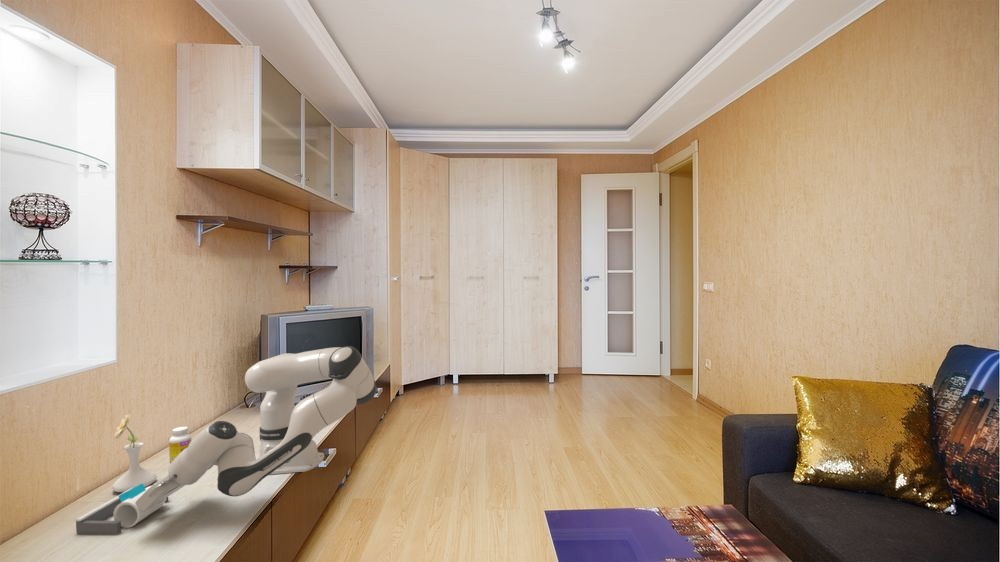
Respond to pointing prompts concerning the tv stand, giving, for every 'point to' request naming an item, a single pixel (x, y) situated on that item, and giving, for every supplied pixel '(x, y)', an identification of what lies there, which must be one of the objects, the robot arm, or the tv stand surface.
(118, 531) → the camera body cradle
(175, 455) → the supplement bottle
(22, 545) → the tv stand surface
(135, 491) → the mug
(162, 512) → the tv stand surface
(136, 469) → the flower in vase
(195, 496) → the tv stand surface
